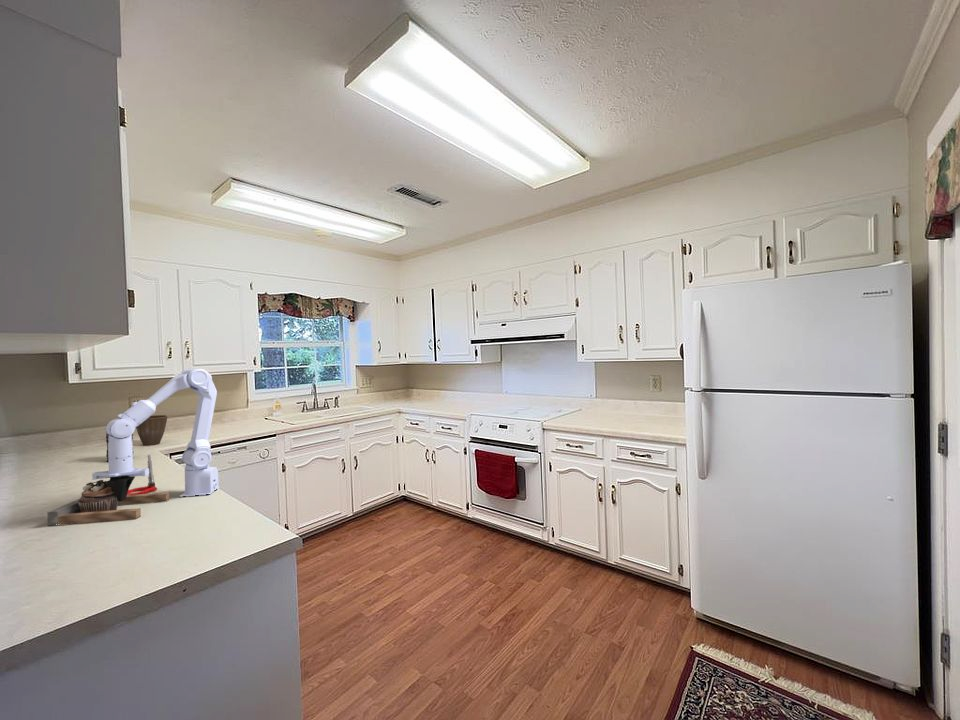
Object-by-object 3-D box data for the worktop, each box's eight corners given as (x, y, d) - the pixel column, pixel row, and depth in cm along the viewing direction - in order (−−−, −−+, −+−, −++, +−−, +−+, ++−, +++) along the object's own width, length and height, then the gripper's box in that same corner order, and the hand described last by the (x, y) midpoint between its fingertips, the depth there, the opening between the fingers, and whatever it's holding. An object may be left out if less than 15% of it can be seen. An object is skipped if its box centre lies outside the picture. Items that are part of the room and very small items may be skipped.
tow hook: (125, 499, 139) (158, 491, 146) (121, 462, 138) (155, 456, 146) (118, 495, 144) (151, 487, 151) (115, 459, 143) (148, 453, 151)
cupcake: (128, 506, 130) (128, 475, 130) (100, 518, 120) (99, 485, 120) (99, 507, 130) (98, 476, 130) (68, 519, 120) (67, 486, 120)
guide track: (169, 499, 136) (169, 487, 136) (136, 518, 120) (136, 505, 120) (93, 505, 132) (93, 493, 132) (47, 526, 116) (47, 512, 116)
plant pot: (174, 441, 240) (173, 415, 240) (150, 447, 225) (150, 418, 225) (152, 441, 242) (152, 415, 242) (127, 447, 228) (127, 418, 228)
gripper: (83, 461, 121) (85, 506, 121) (138, 458, 124) (139, 502, 124) (101, 456, 128) (102, 498, 128) (152, 453, 131) (153, 495, 131)
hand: (121, 500), depth 126 cm, fingers closed
